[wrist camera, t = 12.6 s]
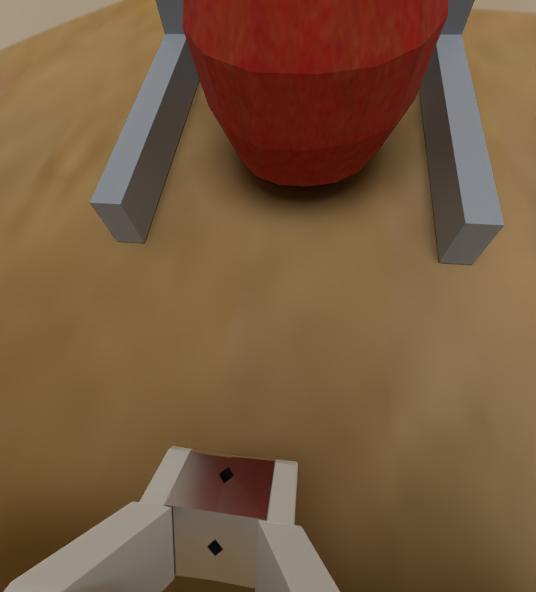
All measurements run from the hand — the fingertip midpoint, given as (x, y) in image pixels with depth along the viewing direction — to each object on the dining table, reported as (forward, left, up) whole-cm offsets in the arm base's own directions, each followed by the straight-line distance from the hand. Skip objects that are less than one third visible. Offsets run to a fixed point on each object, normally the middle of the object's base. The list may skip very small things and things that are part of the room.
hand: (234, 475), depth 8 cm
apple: (+1, +17, -6) cm, 18 cm away
